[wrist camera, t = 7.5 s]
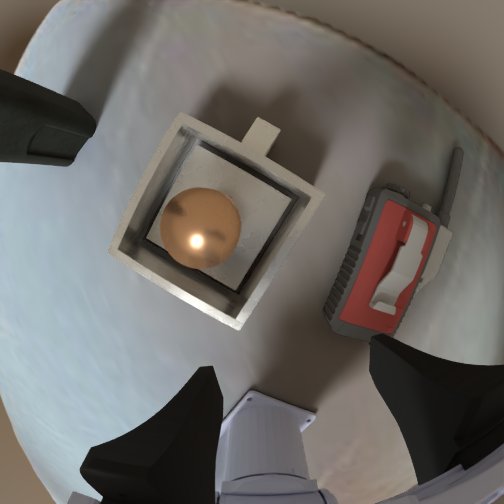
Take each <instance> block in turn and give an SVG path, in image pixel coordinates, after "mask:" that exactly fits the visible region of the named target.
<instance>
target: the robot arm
mask: <svg viewBox="0 0 504 504" xmlns="http://www.w3.org/2000/svg"><path fill="white" fill-rule="evenodd" d="M369 372H370V374H371V376H372V379H373V381H374V384H375V386H376V388H377V390H378V391H379V393H380V395H381V396H382V398H383V400H384V401H385V403H386V405H387V406H388V408H389V409H390V411H391V413H392V414H393V416H394V418H395V419H396V421H397V423H398V425H399V427H400V430H401V432H402V435H403V437H404V440H405V442H406V445H407V448H408V450H409V453H410V456H411V459H412V463H413V466H414V469H415V473H416V477H417V481H418V485H419V486H418V487H416V488H413V489H411V490H409V491H406V492H404V493H402V494H399V495H397V496H394V497H392V498H389V499H386V500H384V501H381V502H378V503H375V504H491V503H492V502H494V501H495V500H496V499H497V498H499V497H500V496H501V495H502V494H504V365H490V366H489V365H472V364H464V363H458V362H453V361H449V360H446V359H442V358H438V357H435V356H432V355H430V354H427V353H425V352H422V351H420V350H417V349H415V348H413V347H411V346H409V345H406V344H404V343H402V342H400V341H398V340H396V339H394V338H392V337H390V336H388V335H386V334H383V333H381V334H378V335H374V336H371V340H370V365H369ZM248 398H252V399H248ZM222 419H223V395H222V392H221V389H220V386H219V383H218V380H217V377H216V374H215V371H214V368H213V366H204V367H199V368H198V370H197V371H196V372H195V373H194V374H193V376H192V377H191V378H190V379H189V380H188V382H187V383H186V384H185V385H184V386H183V388H182V389H181V390H180V391H179V392H178V393H177V394H176V395H175V396H174V397H173V398H172V399H171V400H170V401H169V402H168V403H167V404H166V405H165V406H164V407H163V408H162V409H161V410H160V411H159V412H157V413H156V414H155V415H154V416H152V417H151V418H150V419H148V420H147V421H146V422H144V423H142V424H141V425H139V426H138V427H136V428H135V429H133V430H131V431H130V432H128V433H126V434H124V435H122V436H120V437H118V438H116V439H113V440H111V441H108V442H106V443H103V444H100V445H97V446H94V447H91V449H90V450H89V452H88V454H87V456H86V458H85V460H84V461H83V463H82V465H81V467H80V473H81V475H82V477H83V478H84V479H85V480H86V482H87V483H88V484H90V485H91V486H92V487H93V488H94V489H95V490H96V491H97V492H98V493H99V494H100V495H102V496H103V498H102V501H101V502H100V501H98V500H96V499H94V498H92V497H89V496H86V495H83V494H80V493H77V492H72V494H71V496H70V499H69V501H68V503H67V504H338V501H337V499H336V497H335V496H334V495H333V494H331V493H330V492H329V491H328V490H327V489H318V486H317V481H316V480H310V478H309V473H308V467H307V462H306V457H305V451H304V446H303V441H302V436H301V432H302V431H303V430H304V429H305V428H306V427H308V426H309V425H310V424H311V423H312V422H313V421H314V420H315V419H316V414H315V413H312V412H309V411H307V410H304V409H301V408H298V407H295V406H292V405H290V404H287V403H284V402H282V401H279V400H276V399H274V398H271V397H269V396H266V395H264V394H261V393H259V392H257V391H253V390H251V391H249V392H248V393H247V394H246V395H245V396H244V397H243V399H242V400H241V401H240V402H239V403H238V404H237V406H236V407H235V408H234V409H233V410H232V411H231V412H230V414H229V415H228V416H227V417H226V418H225V419H224V420H223V421H222ZM309 419H310V420H309Z"/></svg>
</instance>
